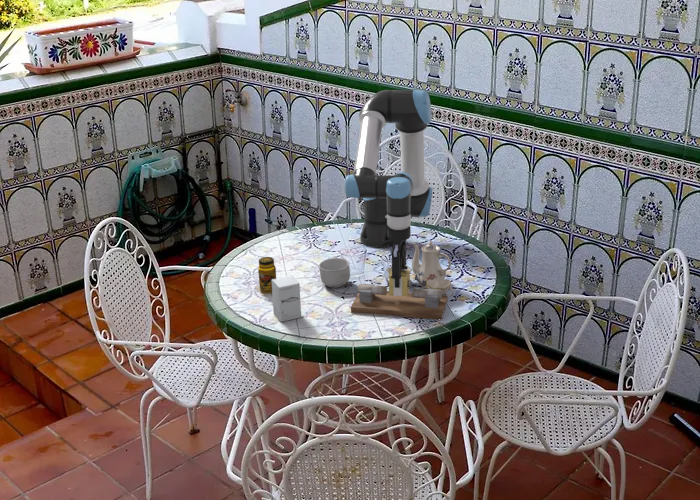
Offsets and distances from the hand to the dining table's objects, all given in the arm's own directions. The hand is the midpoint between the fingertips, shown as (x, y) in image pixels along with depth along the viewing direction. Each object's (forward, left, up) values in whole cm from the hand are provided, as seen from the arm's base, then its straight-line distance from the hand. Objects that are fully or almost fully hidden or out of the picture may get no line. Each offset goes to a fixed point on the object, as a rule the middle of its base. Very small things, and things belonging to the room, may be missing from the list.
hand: (399, 291), depth 278 cm
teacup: (-15, -26, -6) cm, 31 cm away
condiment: (-5, -48, -6) cm, 49 cm away
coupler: (0, 0, 0) cm, 0 cm away
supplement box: (+13, -35, -6) cm, 38 cm away
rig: (0, 0, -6) cm, 6 cm away
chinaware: (-17, +6, -6) cm, 19 cm away
